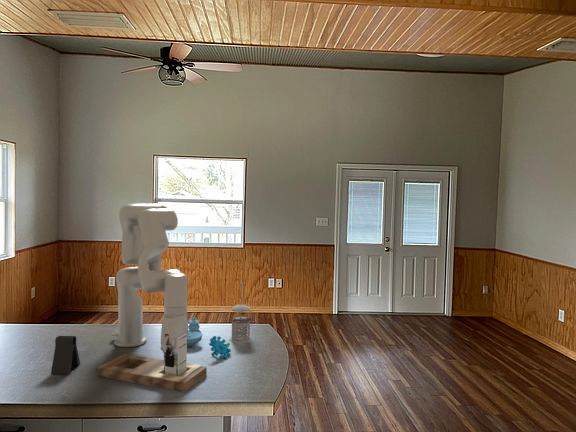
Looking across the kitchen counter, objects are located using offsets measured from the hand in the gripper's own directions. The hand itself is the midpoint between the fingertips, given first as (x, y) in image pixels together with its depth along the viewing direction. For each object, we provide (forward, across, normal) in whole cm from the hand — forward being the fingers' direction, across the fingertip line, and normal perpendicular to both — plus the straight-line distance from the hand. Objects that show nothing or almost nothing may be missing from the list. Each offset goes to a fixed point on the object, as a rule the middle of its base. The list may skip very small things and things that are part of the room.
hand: (175, 362), depth 152 cm
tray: (+6, 0, -9) cm, 11 cm away
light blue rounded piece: (+6, -35, -15) cm, 39 cm away
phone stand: (+6, +7, -40) cm, 41 cm away
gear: (+6, -25, +4) cm, 26 cm away
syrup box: (+5, 0, 0) cm, 5 cm away
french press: (+6, -47, +3) cm, 48 cm away
